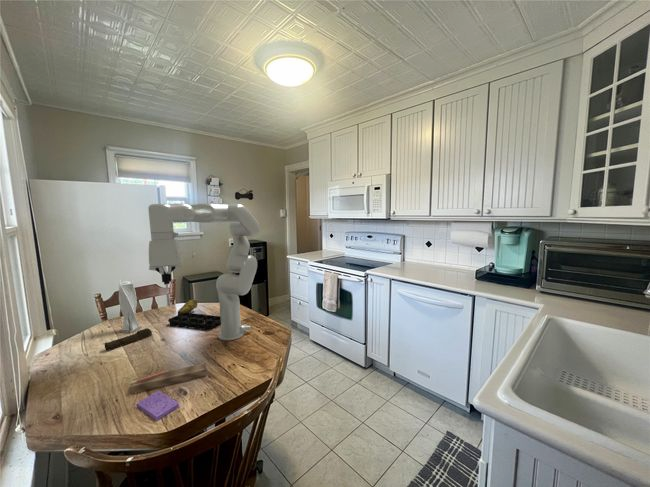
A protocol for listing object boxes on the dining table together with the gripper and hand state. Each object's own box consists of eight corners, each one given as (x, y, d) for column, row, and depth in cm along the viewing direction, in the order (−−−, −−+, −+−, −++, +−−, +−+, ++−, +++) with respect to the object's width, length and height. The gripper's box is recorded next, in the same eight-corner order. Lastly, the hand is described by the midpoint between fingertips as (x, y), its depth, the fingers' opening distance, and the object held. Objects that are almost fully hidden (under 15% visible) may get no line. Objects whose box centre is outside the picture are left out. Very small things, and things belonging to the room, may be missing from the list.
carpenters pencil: (165, 372, 100) (165, 370, 100) (166, 373, 99) (166, 372, 99) (131, 383, 94) (131, 381, 94) (131, 384, 93) (131, 382, 93)
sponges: (157, 422, 80) (156, 416, 80) (136, 407, 87) (135, 402, 86) (179, 407, 86) (179, 402, 86) (158, 394, 93) (158, 389, 92)
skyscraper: (116, 332, 141) (111, 280, 137) (129, 326, 149) (124, 277, 145) (131, 333, 140) (126, 281, 136) (143, 326, 148) (138, 277, 144)
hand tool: (106, 352, 121) (105, 343, 120) (104, 350, 123) (103, 340, 123) (153, 337, 135) (153, 328, 135) (150, 335, 138) (150, 326, 137)
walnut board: (206, 368, 107) (205, 362, 106) (206, 375, 102) (205, 369, 102) (133, 385, 97) (133, 378, 97) (130, 393, 92) (129, 387, 92)
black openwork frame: (180, 318, 160) (180, 312, 160) (228, 318, 158) (228, 312, 158) (160, 330, 143) (160, 324, 143) (214, 331, 141) (214, 325, 141)
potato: (174, 315, 164) (172, 302, 163) (195, 309, 173) (194, 297, 172) (179, 318, 158) (178, 305, 157) (201, 312, 168) (200, 300, 167)
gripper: (185, 234, 108) (189, 279, 110) (141, 237, 102) (146, 283, 104) (184, 236, 101) (188, 283, 104) (137, 238, 95) (142, 288, 97)
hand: (167, 283), depth 104 cm, fingers closed
